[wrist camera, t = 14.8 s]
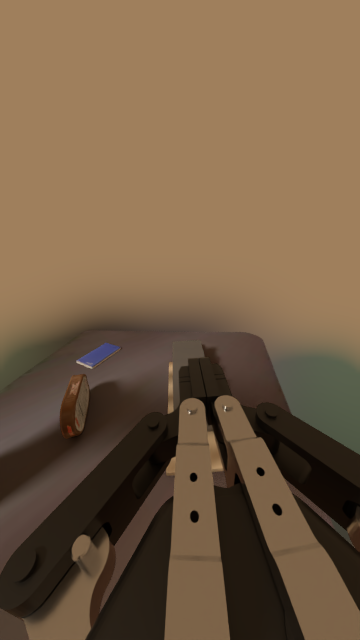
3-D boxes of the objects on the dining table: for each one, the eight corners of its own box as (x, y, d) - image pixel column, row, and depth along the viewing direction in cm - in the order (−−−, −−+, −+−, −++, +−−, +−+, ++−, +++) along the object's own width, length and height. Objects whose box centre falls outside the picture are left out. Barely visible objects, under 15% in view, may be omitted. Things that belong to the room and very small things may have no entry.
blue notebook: (91, 366, 59) (120, 346, 69) (76, 360, 63) (105, 342, 72) (93, 370, 60) (121, 350, 69) (77, 364, 63) (106, 345, 73)
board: (237, 469, 31) (237, 467, 31) (166, 475, 31) (166, 473, 31) (207, 361, 59) (207, 359, 58) (169, 364, 59) (169, 362, 58)
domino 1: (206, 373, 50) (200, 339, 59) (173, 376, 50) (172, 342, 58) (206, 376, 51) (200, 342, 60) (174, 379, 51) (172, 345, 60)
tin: (81, 393, 50) (71, 368, 47) (93, 390, 51) (85, 365, 47) (67, 448, 37) (52, 419, 33) (84, 443, 37) (71, 414, 34)
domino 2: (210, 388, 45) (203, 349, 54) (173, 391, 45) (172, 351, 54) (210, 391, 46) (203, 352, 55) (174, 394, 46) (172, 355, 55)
